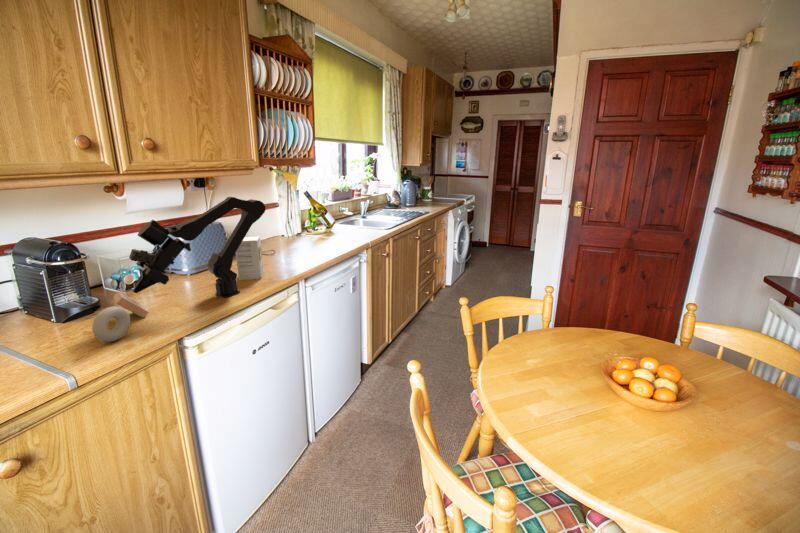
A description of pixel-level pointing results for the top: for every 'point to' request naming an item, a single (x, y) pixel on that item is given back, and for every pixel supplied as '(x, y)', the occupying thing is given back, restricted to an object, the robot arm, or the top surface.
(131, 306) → the terracotta tile
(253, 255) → the supplement box
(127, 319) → the donut
